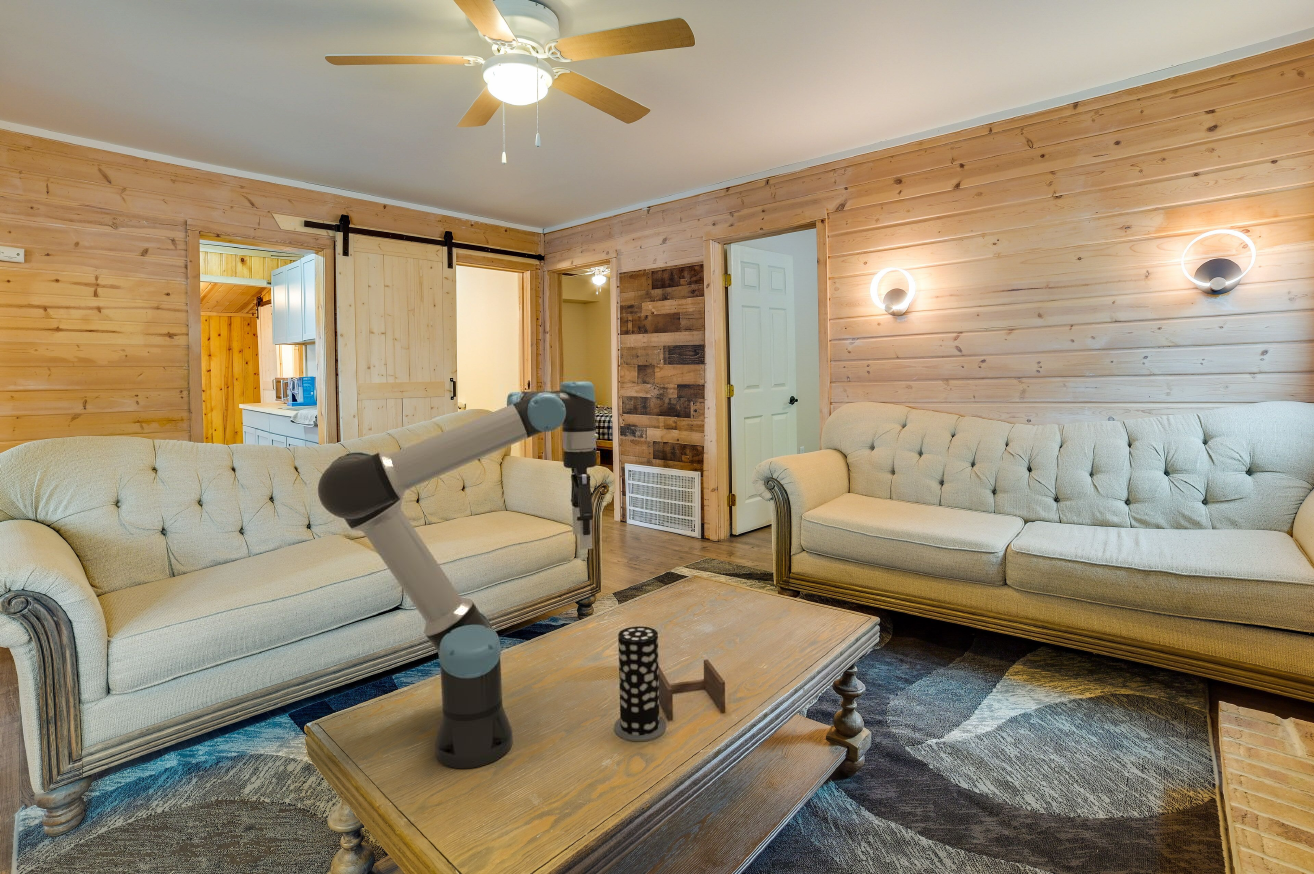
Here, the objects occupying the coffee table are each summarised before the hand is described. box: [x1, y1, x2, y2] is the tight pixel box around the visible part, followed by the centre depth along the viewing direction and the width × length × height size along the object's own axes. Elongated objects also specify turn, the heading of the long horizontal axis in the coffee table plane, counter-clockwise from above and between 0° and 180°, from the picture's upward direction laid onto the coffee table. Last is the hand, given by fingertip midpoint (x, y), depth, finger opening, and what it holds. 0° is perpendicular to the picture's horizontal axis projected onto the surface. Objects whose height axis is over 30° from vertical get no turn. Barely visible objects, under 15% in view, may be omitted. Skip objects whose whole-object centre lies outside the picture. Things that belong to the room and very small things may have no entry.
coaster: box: [613, 715, 667, 743], centre depth 140 cm, size 11×11×1 cm
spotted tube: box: [617, 625, 660, 735], centre depth 139 cm, size 8×8×20 cm
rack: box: [659, 659, 726, 722], centre depth 150 cm, size 13×12×7 cm
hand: (582, 541), depth 151 cm, fingers open, 13 cm apart
